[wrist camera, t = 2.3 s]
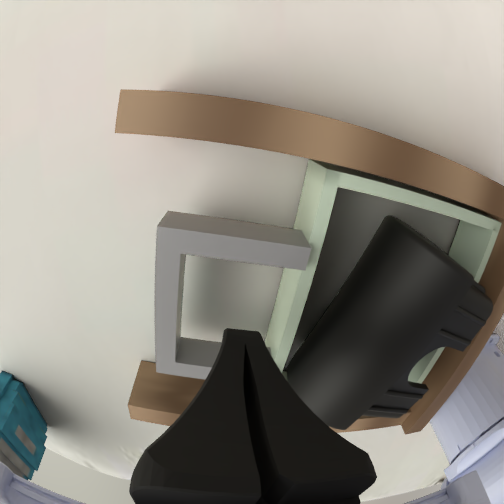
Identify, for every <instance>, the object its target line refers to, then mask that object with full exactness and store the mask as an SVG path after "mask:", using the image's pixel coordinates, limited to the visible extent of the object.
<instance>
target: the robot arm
mask: <svg viewBox="0 0 504 504" xmlns="http://www.w3.org/2000/svg"><path fill="white" fill-rule="evenodd" d="M499 338H500V337H499V335H498V334H493V335H491V336H490V338H489V340H488V341H487V343H486V345H485V346H484V348H483V350H482V351H481V353H480V354H479V356H478V357H477V359H476V360H475V362H474V363H473V365H472V366H471V368H470V369H469V371H468V372H467V374H466V375H465V377H464V378H463V379H462V381H461V382H460V383H459V385H458V386H457V388H456V389H455V390H454V392H453V393H452V394H451V395H450V397H449V398H448V399H447V401H446V402H445V403H444V404H443V406H442V407H441V408H440V409H439V410H438V412H437V413H436V414H435V415H434V416H433V418H432V419H431V420H430V421H429V422H430V424H431V426H432V428H433V430H434V432H435V434H436V436H437V438H438V440H439V442H440V444H441V446H442V449H443V451H444V453H445V455H446V457H447V459H448V462H449V464H450V466H448V467H447V468H446V469H444V472H445V475H446V478H445V479H444V481H443V483H442V486H441V490H439V491H437V492H434V493H432V494H429V495H427V496H424V497H421V498H419V499H416V500H413V501H410V502H407V503H404V504H504V354H503V353H502V352H501V351H500V350H499V348H498V347H497V346H496V344H497V342H498V341H499ZM376 478H377V476H376V473H375V470H374V466H373V464H372V461H371V459H370V457H369V455H368V453H366V452H365V451H363V450H361V449H360V448H358V447H356V446H355V445H353V444H352V443H350V442H349V441H347V440H346V439H344V438H343V437H341V436H340V435H339V434H337V433H336V432H335V431H334V430H332V429H331V428H330V427H329V426H328V425H327V424H325V423H324V422H323V421H322V420H321V419H320V418H319V417H318V416H316V415H315V414H314V413H313V411H312V410H311V409H310V408H309V407H308V406H307V405H306V404H305V403H304V402H303V401H302V399H301V398H300V397H299V396H298V395H297V393H296V392H295V391H294V390H293V388H292V387H291V386H290V384H289V383H288V381H287V380H286V379H285V377H284V376H283V374H282V373H281V371H280V369H279V368H278V366H277V364H276V363H275V361H274V359H273V358H272V356H271V354H270V352H269V350H268V349H267V347H266V345H265V343H264V340H263V338H262V336H261V334H260V333H259V332H257V331H247V330H238V329H229V328H227V329H225V330H224V333H223V340H222V345H221V348H220V351H219V353H218V355H217V358H216V360H215V362H214V365H213V367H212V369H211V370H210V372H209V374H208V376H207V378H206V380H205V381H204V383H203V385H202V386H201V388H200V390H199V391H198V393H197V394H196V396H195V397H194V398H193V400H192V401H191V402H190V404H189V405H188V406H187V408H186V409H185V410H184V411H183V413H182V414H181V415H180V416H179V417H178V418H177V420H176V421H175V422H174V423H173V424H172V425H171V426H170V427H169V428H168V429H167V430H166V431H165V432H164V433H163V434H162V435H161V436H160V437H159V438H158V439H157V440H156V441H154V442H153V443H152V444H151V445H150V446H149V447H148V448H147V449H146V450H145V451H144V453H143V455H142V456H141V458H140V460H139V461H138V463H137V465H136V467H135V469H134V472H133V475H132V478H131V484H130V495H131V497H132V498H133V500H134V502H135V504H360V499H359V495H360V494H361V493H363V492H364V491H365V490H366V489H368V488H369V487H370V486H371V485H372V484H373V483H374V482H375V481H376ZM0 504H85V503H82V502H79V501H76V500H73V499H70V498H68V497H65V496H62V495H60V494H57V493H55V492H52V491H50V490H48V489H45V488H43V487H41V486H39V485H36V484H34V483H32V482H30V481H28V480H26V479H24V478H22V477H20V476H18V475H16V474H14V473H13V472H12V471H11V470H10V469H9V468H8V467H7V466H6V465H5V464H3V463H2V462H1V461H0Z"/></svg>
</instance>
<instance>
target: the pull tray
mask: <svg viewBox="0 0 504 504" xmlns="http://www.w3.org/2000/svg"><path fill="white" fill-rule="evenodd" d="M338 187H340V188H345V189H349V190H353V191H358V192H362V193H366V194H370V195H374V196H378V197H382V198H386V199H390V200H394V201H397V202H401V203H405V204H409V205H412V206H416V207H419V208H423V209H426V210H430V211H433V212H436V213H440V214H443V215H446V216H450V217H453V218H456V219H459V220H460V223H459V226H458V229H457V232H456V235H455V238H454V240H453V243H452V246H451V249H450V251H449V254H448V255H449V256H450V257H451V258H452V259H454V260H455V261H456V262H457V263H458V264H460V265H461V266H462V267H463V268H464V269H466V270H467V271H468V272H469V273H470V274H472V276H473V278H474V280H475V281H476V282H477V283H479V281H480V279H481V276H482V274H483V272H484V269H485V267H486V264H487V262H488V259H489V257H490V254H491V252H492V249H493V247H494V244H495V241H496V238H497V235H498V233H499V230H500V227H501V224H502V223H501V222H499V221H497V220H495V219H494V218H492V217H490V216H488V215H486V214H485V213H483V212H481V211H479V210H477V209H475V208H473V207H471V206H469V205H466V204H463V203H461V202H458V201H455V200H452V199H450V198H447V197H444V196H441V195H438V194H435V193H432V192H429V191H426V190H423V189H420V188H417V187H414V186H410V185H407V184H404V183H401V182H397V181H394V180H390V179H387V178H383V177H380V176H376V175H373V174H369V173H365V172H361V171H358V170H354V169H350V168H346V167H342V166H338V165H333V164H329V163H325V162H320V161H316V160H311V159H309V161H308V166H307V171H306V175H305V180H304V184H303V189H302V193H301V198H300V202H299V207H298V211H297V215H296V220H295V224H294V228H293V229H290V228H284V227H278V226H271V225H265V224H258V223H251V222H245V221H238V220H231V219H224V218H217V217H210V216H203V215H195V214H188V213H180V212H173V211H168V212H167V213H166V214H165V216H164V217H163V219H162V220H161V222H160V223H159V224H158V226H157V239H156V261H155V354H156V372H158V373H164V374H170V375H176V376H183V377H190V378H198V379H206V378H207V376H208V374H209V372H210V370H211V369H212V367H213V365H214V362H215V360H216V358H217V355H218V353H219V351H220V348H221V345H222V343H221V342H213V341H205V340H198V339H190V338H183V337H180V336H181V317H182V300H183V286H184V273H185V261H186V255H193V256H200V257H208V258H215V259H222V260H229V261H237V262H244V263H251V264H259V265H266V266H274V267H281V268H284V270H283V274H282V278H281V282H280V286H279V290H278V294H277V297H276V301H275V305H274V309H273V313H272V317H271V321H270V324H269V328H268V332H267V336H266V339H265V345H266V347H267V349H268V350H269V352H270V354H271V356H272V358H273V359H274V361H275V363H276V364H277V366H278V368H279V369H280V371H281V373H282V374H283V376H284V377H285V379H286V380H287V372H282V371H283V368H284V366H285V363H286V360H287V357H288V354H289V351H290V348H291V345H292V342H293V340H294V337H295V334H296V331H297V328H298V324H299V321H300V318H301V315H302V312H303V309H304V306H305V303H306V299H307V296H308V293H309V290H310V286H311V283H312V280H313V276H314V273H315V270H316V266H317V263H318V259H319V256H320V252H321V249H322V245H323V242H324V238H325V234H326V231H327V227H328V223H329V219H330V216H331V212H332V208H333V204H334V200H335V196H336V192H337V188H338ZM444 348H445V347H441V348H438V349H436V350H433V351H432V352H430V353H428V354H427V355H426V356H424V357H423V358H422V359H421V360H419V362H418V363H417V364H416V365H415V366H414V367H413V368H412V370H411V372H410V374H409V376H408V381H411V382H416V383H421V384H422V382H423V381H424V379H425V378H426V376H427V375H428V373H429V372H430V370H431V369H432V367H433V366H434V364H435V363H436V361H437V359H438V358H439V356H440V355H441V353H442V351H443V350H444ZM287 381H288V380H287Z"/></svg>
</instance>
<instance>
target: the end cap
mask: <svg viewBox="0 0 504 504" xmlns="http://www.w3.org/2000/svg"><path fill="white" fill-rule="evenodd" d="M492 311H493V302H492V300H491V299H490V298H489V297H488V296H487V295H486V294H485V288H484V287H483V286H481V285H480V284H479V283H477V282H476V281H475V280H474V278H473V276H472V274H470V273H469V272H468V271H467V270H466V269H464V268H463V267H462V266H461V265H460V264H458V263H457V262H456V261H455V260H454V259H452V258H451V257H450V256H449V255H447V254H446V253H445V252H444V251H442V250H441V249H440V248H438V247H437V246H436V245H435V244H433V243H432V242H431V241H429V240H428V239H427V238H425V237H424V236H423V235H421V234H420V233H419V232H417V231H416V230H415V229H413V228H412V227H410V226H409V225H407V224H406V223H404V222H402V221H401V220H399V219H397V218H395V217H393V216H386V217H385V218H384V220H383V222H382V223H381V225H380V227H379V229H378V230H377V232H376V234H375V235H374V237H373V239H372V240H371V242H370V244H369V245H368V247H367V249H366V250H365V252H364V254H363V255H362V257H361V258H360V260H359V262H358V263H357V265H356V266H355V268H354V270H353V271H352V273H351V274H350V276H349V277H348V279H347V281H346V282H345V284H344V285H343V287H342V288H341V290H340V291H339V293H338V294H337V296H336V297H335V299H334V300H333V302H332V303H331V305H330V306H329V308H328V309H327V310H326V312H325V313H324V315H323V316H322V318H321V319H320V321H319V322H318V323H317V325H316V326H315V328H314V329H313V330H312V332H311V333H310V335H309V336H308V337H307V339H306V340H305V342H304V343H303V344H302V346H301V347H300V348H299V350H298V351H297V352H296V354H295V355H294V356H293V358H292V359H291V361H290V363H289V365H288V369H287V380H288V383H289V384H290V386H291V387H292V388H293V390H294V391H295V392H296V393H297V395H298V396H299V397H300V398H301V399H302V401H303V402H304V403H305V404H306V405H307V406H308V407H309V408H310V409H311V410H312V411H313V413H314V414H315V415H316V416H318V417H319V418H320V419H321V420H322V421H323V422H324V423H325V424H327V425H328V426H329V427H332V428H334V429H339V430H346V429H347V428H349V427H350V426H351V425H352V424H353V423H354V422H355V421H356V420H358V419H359V418H360V417H361V416H372V417H384V418H400V417H401V416H402V415H403V414H406V413H407V412H408V410H409V409H410V408H411V407H412V406H413V405H414V404H415V403H416V402H417V401H418V400H419V399H422V397H423V395H424V394H425V393H426V392H427V391H428V390H429V389H428V387H427V385H426V384H421V383H416V382H411V381H408V376H409V374H410V372H411V370H412V368H413V367H414V366H415V365H416V364H417V363H418V362H419V360H421V359H422V358H423V357H424V356H426V355H427V354H428V353H430V352H432V351H433V350H436V349H438V348H441V347H451V348H453V349H456V350H459V351H462V352H463V351H464V350H465V348H466V347H467V346H469V345H470V344H471V341H472V340H473V338H474V337H475V336H476V334H477V333H478V332H479V330H480V329H481V328H482V326H484V325H485V324H486V321H487V319H488V318H489V317H490V315H491V313H492Z"/></svg>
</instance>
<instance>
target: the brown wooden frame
mask: <svg viewBox="0 0 504 504" xmlns="http://www.w3.org/2000/svg"><path fill="white" fill-rule="evenodd" d="M115 133H127V134H142V135H155V136H167V137H177V138H186V139H195V140H203V141H211V142H219V143H226V144H233V145H239V146H245V147H252V148H257V149H263V150H269V151H274V152H280V153H285V154H290V155H295V156H300V157H305V158H309V159H314V160H318V161H323V162H327V163H331V164H336V165H340V166H344V167H348V168H352V169H356V170H360V171H363V172H367V173H371V174H375V175H378V176H382V177H385V178H389V179H392V180H396V181H399V182H402V183H406V184H409V185H412V186H415V187H418V188H421V189H424V190H428V191H431V192H434V193H436V194H439V195H442V196H445V197H448V198H451V199H454V200H456V201H459V202H462V203H464V204H467V205H470V206H471V207H473V208H475V209H477V210H479V211H481V212H483V213H485V214H486V215H488V216H490V217H492V218H494V219H495V220H497V221H499V222H501V223H502V224H501V227H500V230H499V233H498V235H497V238H496V241H495V244H494V247H493V249H492V252H491V254H490V257H489V259H488V262H487V264H486V267H485V269H484V272H483V274H482V276H481V279H480V281H479V284H480V285H481V286H483V287H484V288H485V294H486V295H487V296H488V297H489V298H490V299H491V300H492V302H493V311H492V313H491V315H490V317H489V318H488V319H487V321H486V324H485V325H484V326H482V328H481V329H480V330H479V332H478V333H477V334H476V336H475V337H474V338H473V340H472V341H471V344H470V345H469V346H467V347H466V348H465V350H464V351H463V352H462V351H459V350H456V349H453V348H451V347H445V348H444V350H443V351H442V353H441V355H440V356H439V358H438V359H437V361H436V363H435V364H434V366H433V367H432V369H431V370H430V372H429V373H428V375H427V376H426V378H425V379H424V381H423V382H422V384H426V385H427V387H428V389H429V390H428V391H427V392H426V393H425V394H424V395H423V397H422V399H419V400H418V401H417V402H416V403H415V404H414V405H413V406H412V407H411V408H410V409H409V410H408V412H407V413H406V414H403V415H402V416H401V417H400V418H384V417H372V416H361V417H360V418H359V419H358V420H356V421H355V422H354V423H353V424H352V425H351V426H350V427H349V428H347V429H346V430H339V429H334V428H332V427H330V428H331V429H332V430H334V431H335V432H336V433H339V432H351V431H360V430H369V429H377V428H384V427H390V426H396V425H401V426H402V428H403V430H404V433H405V434H409V433H414V432H419V431H421V430H422V429H423V428H424V427H425V426H426V424H427V423H428V422H429V421H430V420H431V419H432V418H433V416H434V415H435V414H436V413H437V412H438V410H439V409H440V408H441V407H442V406H443V404H444V403H445V402H446V401H447V399H448V398H449V397H450V395H451V394H452V393H453V392H454V390H455V389H456V388H457V386H458V385H459V383H460V382H461V381H462V379H463V378H464V377H465V375H466V374H467V372H468V371H469V369H470V368H471V366H472V365H473V363H474V362H475V360H476V359H477V357H478V356H479V354H480V353H481V351H482V350H483V348H484V346H485V345H486V343H487V341H488V340H489V338H490V336H491V335H492V333H493V331H494V329H495V328H496V326H497V324H498V322H499V320H500V319H501V317H502V315H503V313H504V186H502V185H500V184H499V183H497V182H495V181H493V180H491V179H489V178H487V177H485V176H483V175H481V174H479V173H477V172H475V171H473V170H471V169H469V168H467V167H465V166H462V165H460V164H458V163H456V162H454V161H451V160H449V159H447V158H445V157H442V156H440V155H438V154H435V153H433V152H430V151H428V150H425V149H423V148H420V147H418V146H415V145H412V144H410V143H407V142H404V141H402V140H399V139H396V138H393V137H390V136H388V135H385V134H382V133H379V132H376V131H372V130H369V129H366V128H363V127H360V126H356V125H353V124H350V123H346V122H343V121H339V120H335V119H332V118H328V117H324V116H320V115H316V114H312V113H308V112H303V111H299V110H295V109H290V108H285V107H280V106H275V105H270V104H265V103H259V102H253V101H247V100H241V99H235V98H228V97H220V96H212V95H203V94H194V93H183V92H170V91H153V90H121V91H120V97H119V104H118V111H117V119H116V127H115ZM205 380H206V379H198V378H190V377H183V376H176V375H170V374H164V373H158V372H156V363H152V362H146V361H141V363H140V366H139V369H138V372H137V376H136V379H135V382H134V386H133V389H132V392H131V396H130V399H129V402H128V408H129V413H130V417H131V419H136V420H140V421H145V422H151V423H156V424H162V425H168V426H171V425H172V424H173V423H174V422H175V421H176V420H177V418H178V417H179V416H180V415H181V414H182V413H183V411H184V410H185V409H186V408H187V406H188V405H189V404H190V402H191V401H192V400H193V398H194V397H195V396H196V394H197V393H198V391H199V390H200V388H201V386H202V385H203V383H204V381H205Z"/></svg>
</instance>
